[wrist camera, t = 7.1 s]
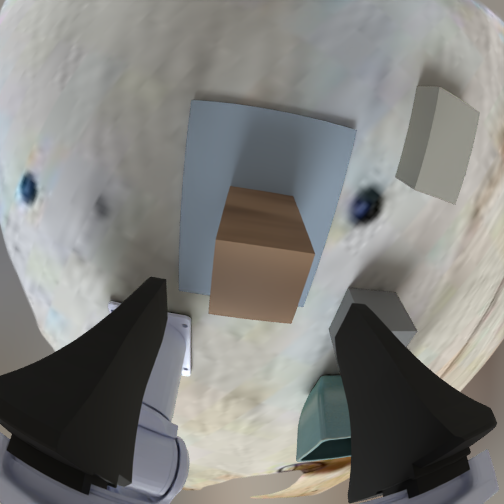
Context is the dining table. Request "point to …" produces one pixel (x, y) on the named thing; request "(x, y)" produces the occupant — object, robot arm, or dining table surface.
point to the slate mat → (256, 176)
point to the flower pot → (324, 422)
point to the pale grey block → (438, 143)
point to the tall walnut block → (260, 257)
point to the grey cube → (377, 312)
